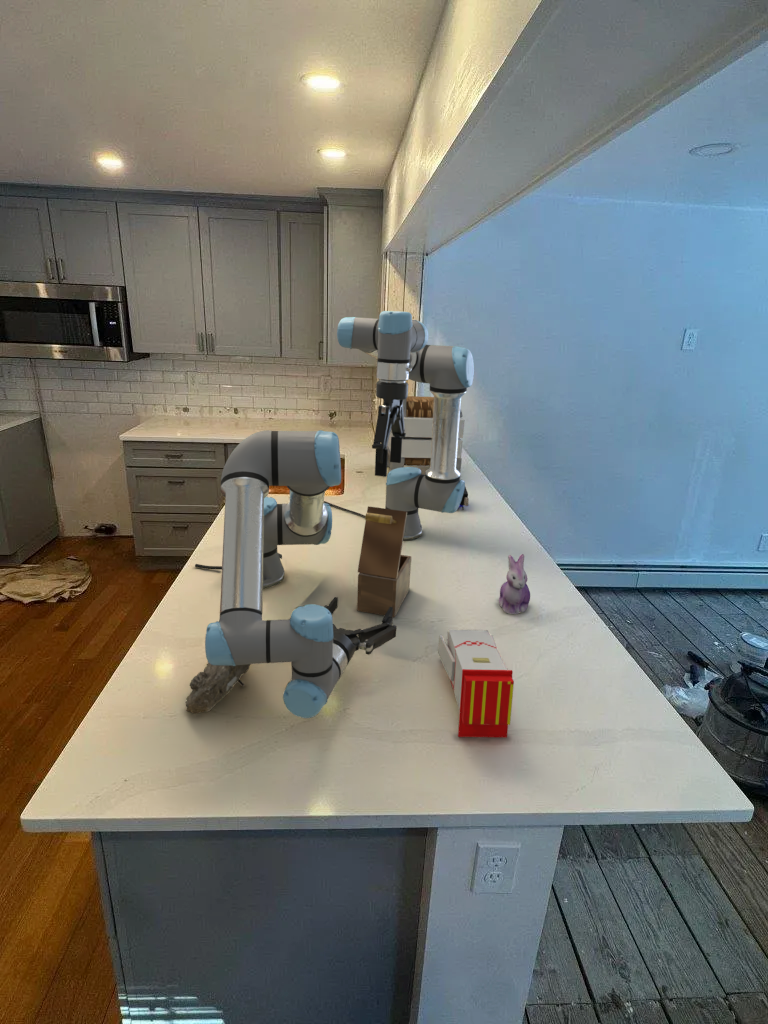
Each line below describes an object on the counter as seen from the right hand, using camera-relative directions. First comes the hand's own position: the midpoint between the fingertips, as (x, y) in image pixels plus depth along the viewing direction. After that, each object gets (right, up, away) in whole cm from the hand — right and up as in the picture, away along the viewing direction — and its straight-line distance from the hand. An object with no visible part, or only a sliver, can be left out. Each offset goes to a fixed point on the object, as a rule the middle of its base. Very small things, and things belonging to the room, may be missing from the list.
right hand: (388, 468), depth 140 cm
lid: (-1, -18, +5) cm, 19 cm away
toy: (+17, -48, -21) cm, 55 cm away
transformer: (+16, +8, +135) cm, 137 cm away
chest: (-1, -35, +15) cm, 38 cm away
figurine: (+34, -36, +14) cm, 52 cm away
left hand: (-6, -33, -6) cm, 34 cm away
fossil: (-34, -46, -22) cm, 62 cm away
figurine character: (+29, -8, +92) cm, 97 cm away
